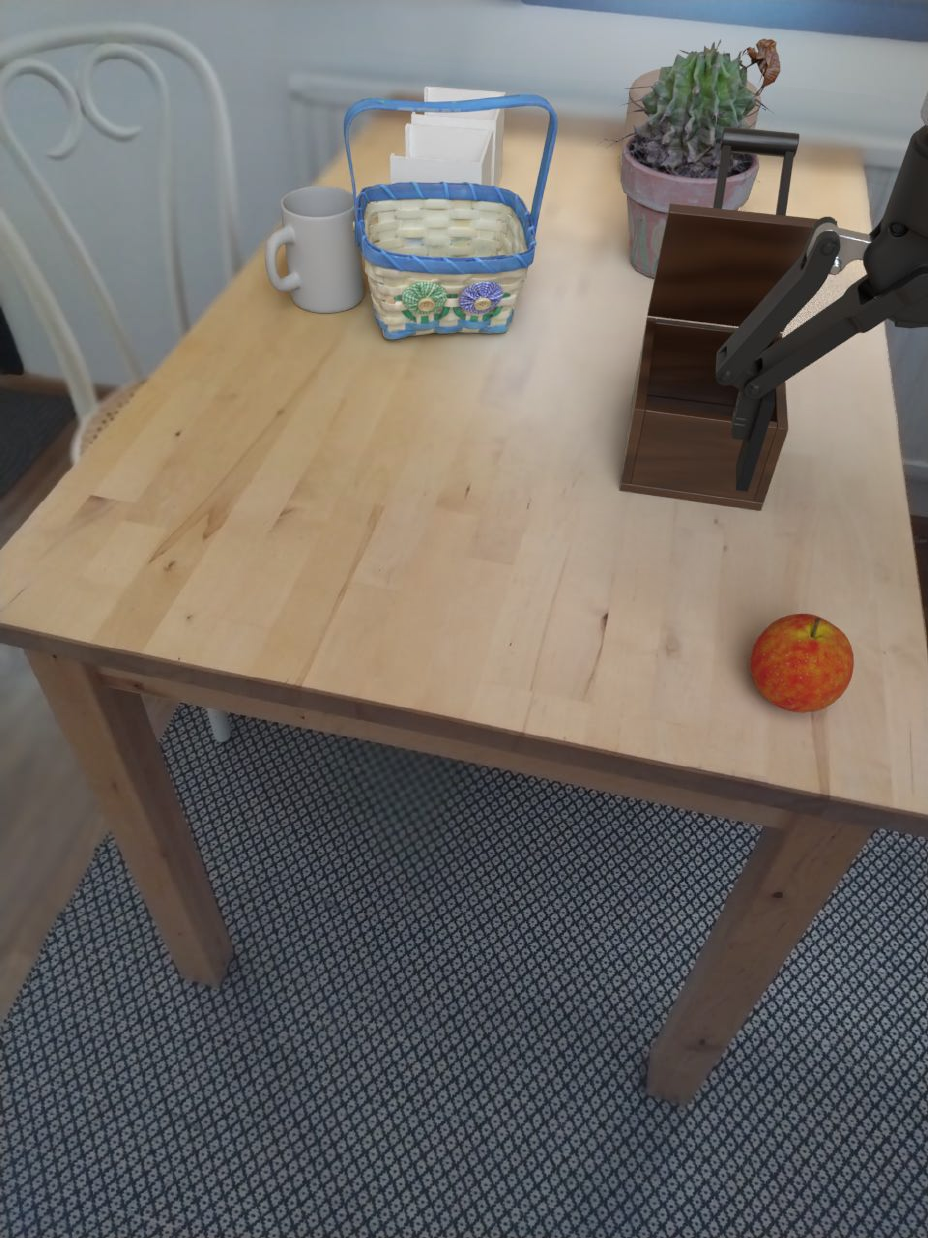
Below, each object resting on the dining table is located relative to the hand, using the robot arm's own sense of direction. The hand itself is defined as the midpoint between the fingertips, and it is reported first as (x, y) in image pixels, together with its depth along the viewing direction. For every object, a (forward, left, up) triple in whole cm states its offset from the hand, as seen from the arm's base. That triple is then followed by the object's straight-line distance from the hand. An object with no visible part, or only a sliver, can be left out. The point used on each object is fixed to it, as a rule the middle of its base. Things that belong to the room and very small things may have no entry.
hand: (850, 494), depth 59 cm
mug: (+51, -45, -17) cm, 71 cm away
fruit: (-1, +3, -17) cm, 17 cm away
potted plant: (+12, -64, -17) cm, 68 cm away
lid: (+7, -29, -1) cm, 30 cm away
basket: (+35, -44, -17) cm, 59 cm away
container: (+11, -93, -17) cm, 95 cm away
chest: (+7, -26, -17) cm, 32 cm away
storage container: (+41, -73, -17) cm, 86 cm away
